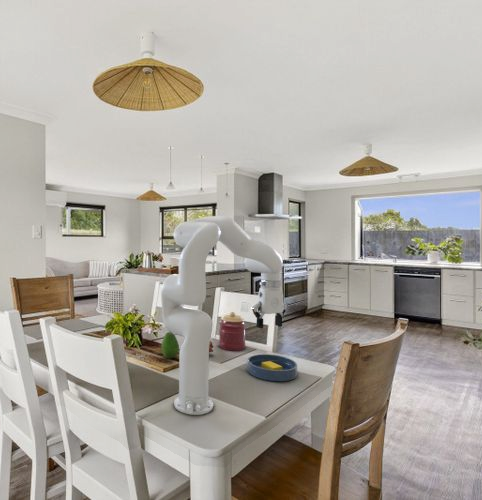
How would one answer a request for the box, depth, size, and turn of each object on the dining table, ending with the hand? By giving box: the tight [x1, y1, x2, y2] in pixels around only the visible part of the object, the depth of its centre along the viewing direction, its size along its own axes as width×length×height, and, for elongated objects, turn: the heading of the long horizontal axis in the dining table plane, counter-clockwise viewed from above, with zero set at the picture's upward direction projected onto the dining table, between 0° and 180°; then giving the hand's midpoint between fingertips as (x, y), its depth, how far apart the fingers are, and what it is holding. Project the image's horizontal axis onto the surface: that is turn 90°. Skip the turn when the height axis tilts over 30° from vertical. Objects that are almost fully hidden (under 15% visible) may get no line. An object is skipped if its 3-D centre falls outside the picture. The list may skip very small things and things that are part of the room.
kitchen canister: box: [218, 311, 247, 351], centre depth 180 cm, size 13×13×18 cm
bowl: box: [246, 353, 298, 382], centre depth 147 cm, size 19×19×4 cm
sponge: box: [261, 361, 282, 370], centre depth 147 cm, size 7×4×3 cm, turn 25°
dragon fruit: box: [209, 340, 214, 353], centre depth 167 cm, size 8×8×12 cm
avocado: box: [160, 331, 180, 360], centre depth 163 cm, size 8×8×12 cm
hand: (269, 326), depth 145 cm, fingers open, 9 cm apart
